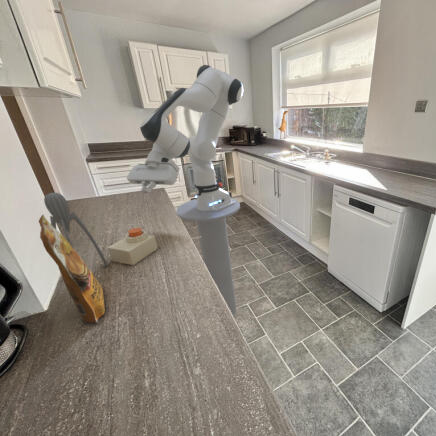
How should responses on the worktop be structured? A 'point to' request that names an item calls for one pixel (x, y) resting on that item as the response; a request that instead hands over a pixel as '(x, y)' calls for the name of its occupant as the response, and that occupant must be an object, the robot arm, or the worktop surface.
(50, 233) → the pancake mix bag
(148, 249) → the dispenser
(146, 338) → the worktop surface
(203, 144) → the robot arm
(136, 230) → the nozzle
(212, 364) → the worktop surface
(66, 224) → the citrus juicer
